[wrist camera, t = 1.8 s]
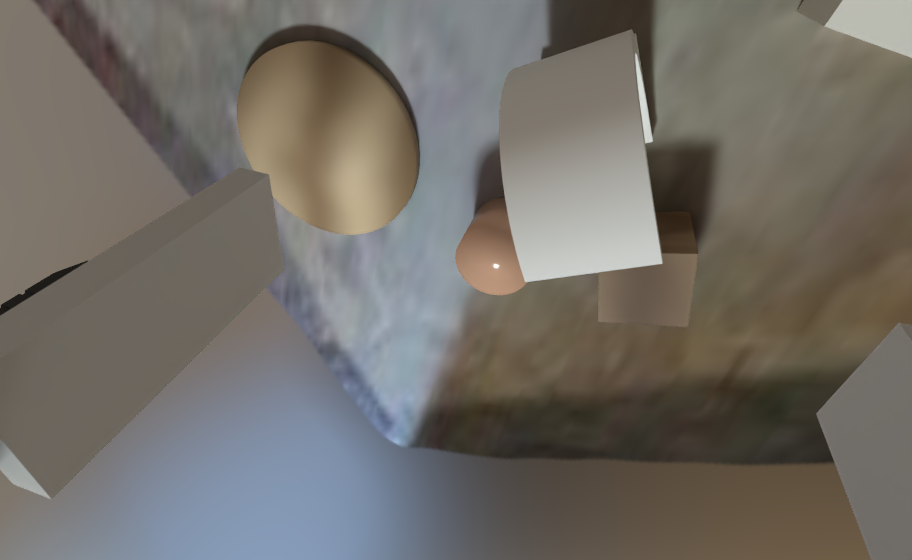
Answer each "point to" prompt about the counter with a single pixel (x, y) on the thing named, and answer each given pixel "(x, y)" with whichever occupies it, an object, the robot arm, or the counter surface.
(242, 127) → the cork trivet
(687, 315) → the walnut cube
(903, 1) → the off-white plastic box
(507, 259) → the peach domed cylinder
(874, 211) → the counter surface
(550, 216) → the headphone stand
